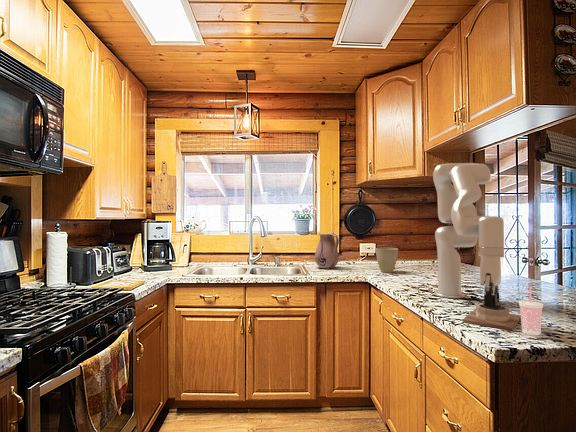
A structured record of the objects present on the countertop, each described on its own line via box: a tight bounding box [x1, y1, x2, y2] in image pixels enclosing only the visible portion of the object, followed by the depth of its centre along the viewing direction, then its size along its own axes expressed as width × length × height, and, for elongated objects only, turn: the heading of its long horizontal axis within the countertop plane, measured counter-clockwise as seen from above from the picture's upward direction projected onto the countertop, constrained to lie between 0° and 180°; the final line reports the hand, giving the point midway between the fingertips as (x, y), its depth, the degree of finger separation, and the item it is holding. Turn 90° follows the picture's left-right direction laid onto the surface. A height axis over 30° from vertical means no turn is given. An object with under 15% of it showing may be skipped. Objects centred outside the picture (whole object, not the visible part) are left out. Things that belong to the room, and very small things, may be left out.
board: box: [462, 303, 521, 332], centre depth 115 cm, size 18×14×4 cm
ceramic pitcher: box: [314, 233, 340, 270], centre depth 246 cm, size 18×21×25 cm
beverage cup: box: [518, 285, 544, 336], centre depth 102 cm, size 6×6×14 cm
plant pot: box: [374, 247, 399, 274], centre depth 225 cm, size 15×15×16 cm
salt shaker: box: [481, 284, 503, 310], centre depth 115 cm, size 6×6×12 cm
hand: (491, 304), depth 115 cm, fingers closed on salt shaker, 5 cm apart
